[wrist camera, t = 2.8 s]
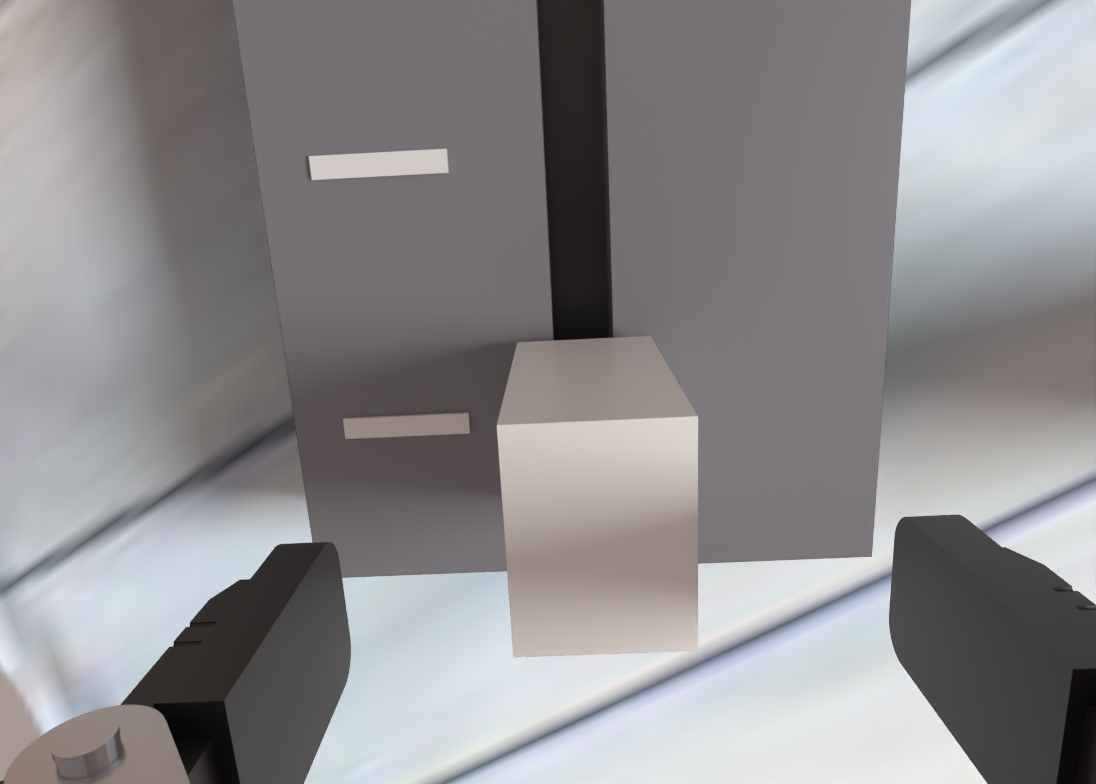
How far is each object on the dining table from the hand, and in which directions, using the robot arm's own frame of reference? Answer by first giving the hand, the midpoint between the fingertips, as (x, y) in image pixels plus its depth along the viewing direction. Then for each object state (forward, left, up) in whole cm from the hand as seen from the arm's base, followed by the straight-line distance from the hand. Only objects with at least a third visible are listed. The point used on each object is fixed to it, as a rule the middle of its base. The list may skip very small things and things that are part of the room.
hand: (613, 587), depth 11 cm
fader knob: (0, 0, -9) cm, 9 cm away
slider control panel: (-8, 0, -13) cm, 15 cm away
